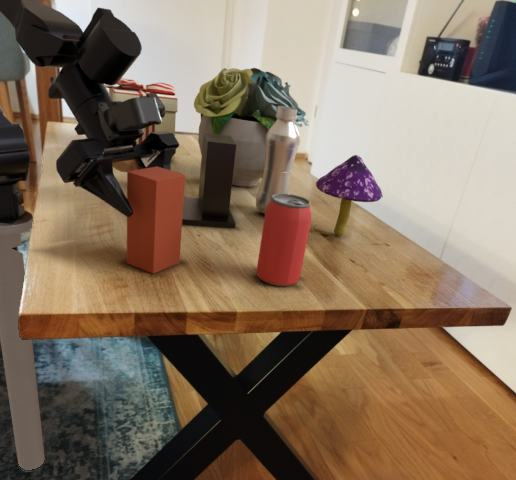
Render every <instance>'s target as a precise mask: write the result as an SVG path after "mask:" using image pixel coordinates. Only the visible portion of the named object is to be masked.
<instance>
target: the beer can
mask: <svg viewBox="0 0 516 480" xmlns="http://www.w3.org/2000/svg"><path fill="white" fill-rule="evenodd" d="M311 205H312V202H311V201H310V200H309V199H307V198H305V197H304V196H301V195H296V194H293V193H289V194H274V195H273V196H272V197H271V201H270V203H269V204H268V206H267V209H266V212H265V214H264V219H263V226H262V231H261V239H260V245H259V253H258V258H257V259H258V260H257V265H256V271H255V273H256V275H257V277H258V278H259V279H260V281H262V282H264V283H266V284H269V285H271V286H275V287H276V286H277V287H291V286H294V285H295V284H297V283H298V282H299V281H300V278H301V274H302V268H303V263H304V260H305V254H306V248H307V244H308V238H309V234H310V229H311V224H312V210H311Z"/></svg>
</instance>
